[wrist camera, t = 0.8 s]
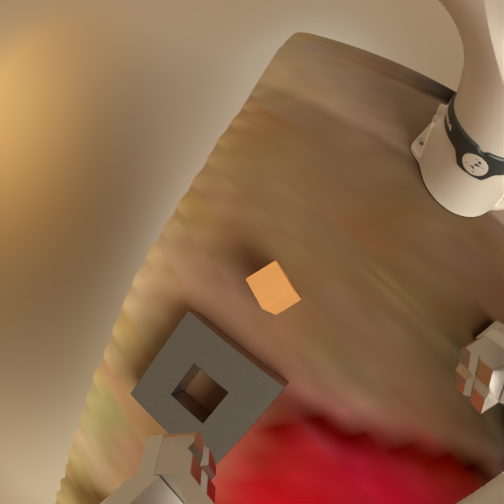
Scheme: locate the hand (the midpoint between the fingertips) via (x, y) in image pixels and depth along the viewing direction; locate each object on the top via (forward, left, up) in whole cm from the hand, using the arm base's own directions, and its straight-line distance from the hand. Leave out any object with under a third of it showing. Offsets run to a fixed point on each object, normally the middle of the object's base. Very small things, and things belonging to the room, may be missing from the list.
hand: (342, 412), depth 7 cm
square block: (-2, -11, -32) cm, 34 cm away
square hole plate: (+15, -11, -32) cm, 37 cm away
